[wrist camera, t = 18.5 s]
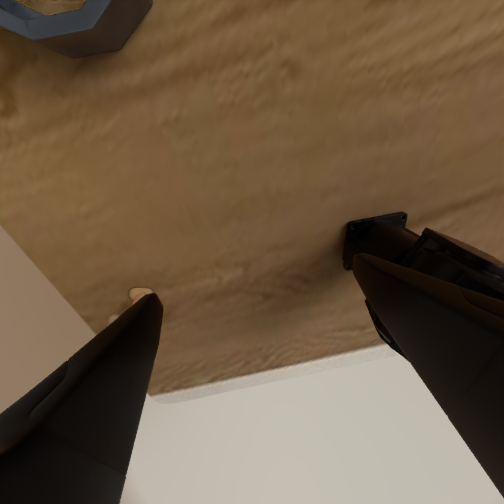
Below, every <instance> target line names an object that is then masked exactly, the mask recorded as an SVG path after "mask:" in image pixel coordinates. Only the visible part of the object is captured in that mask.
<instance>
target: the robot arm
mask: <svg viewBox="0 0 504 504" xmlns="http://www.w3.org/2000/svg"><path fill="white" fill-rule="evenodd" d="M401 216H402V217H401ZM406 220H407V214H406V213H404V212H398V213H393V214H388V215H382V216H377V217H372V218H366V219H361V220H356V221H351V222H349V223H348V224H347V228H346V240H345V241H344V248H343V260H344V263H343V268H344V269H345V270H347V271H349V270H352V271H353V274H354V276H355V278H356V280H357V282H358V284H359V286H360V287H361V289H362V291H363V293H364V295H365V297H366V300H365V303H366V306H367V308H368V311H369V313H370V316H371V318H372V321H373V323H374V326H375V328H376V330H377V332H378V334H379V336H380V338H381V339H382V340H384V341H385V342H386V343H387V344H388V345H389V346H390V347H391V348H392V349H393V350H395V351H396V352H398V353H399V354H400V355H402V356H403V357H404V358H405V359H407V360H408V361H409V362H410V363H411V365H412V366H413V367H414V369H415V370H416V372H417V373H418V375H419V376H420V378H421V379H422V380H423V382H424V383H425V385H426V386H427V388H428V389H429V390H430V392H431V393H432V395H433V396H434V398H435V399H436V401H437V402H438V404H439V405H440V406H441V408H442V409H443V411H444V412H445V414H446V415H447V416H448V418H449V420H450V421H451V423H452V424H453V425H454V427H455V428H456V430H457V431H458V433H459V434H460V435H461V437H462V438H463V440H464V441H465V443H466V444H467V446H468V447H469V449H470V450H471V452H472V453H473V454H474V456H475V457H476V459H477V460H478V462H479V463H480V464H481V466H482V467H483V469H484V470H485V472H486V473H487V475H488V476H489V477H490V479H491V480H492V482H493V483H494V485H495V486H496V488H497V489H498V490H499V492H500V493H501V495H502V496H503V498H504V263H503V262H501V261H500V260H498V259H496V258H495V257H493V256H491V255H489V254H487V253H485V252H483V251H481V250H479V249H477V248H475V247H472V246H470V245H468V244H466V243H464V242H462V241H459V240H457V239H454V238H452V237H449V236H446V235H444V234H441V233H439V232H436V231H434V230H431V229H429V228H425V229H424V230H423V232H422V235H421V236H419V235H417V234H415V233H414V232H412V231H410V230H408V229H407V228H405V224H406ZM352 225H353V227H351V226H352ZM347 266H348V267H347ZM162 318H163V305H162V303H161V301H160V300H159V298H158V296H157V294H156V293H149V294H145V295H144V296H143V297H141V298H140V299H139V300H138V301H137V302H136V303H134V304H133V305H132V306H131V307H130V308H128V309H127V310H126V311H125V312H124V313H123V314H121V315H120V316H119V317H118V318H117V319H115V320H114V321H113V322H112V323H111V324H110V325H108V326H107V327H106V328H105V329H104V330H102V331H101V332H100V333H99V334H98V335H96V336H95V337H94V338H93V339H92V340H91V341H89V342H88V343H87V344H86V345H85V346H83V347H82V348H81V349H80V350H79V351H78V352H77V353H75V354H74V355H73V356H72V357H70V358H69V360H68V361H66V362H64V363H63V364H62V365H61V366H60V367H59V368H57V369H56V370H55V371H54V372H53V373H51V374H50V375H49V376H48V377H46V378H45V379H44V380H43V381H42V382H40V383H39V384H38V385H37V386H36V387H34V388H33V389H32V390H30V391H29V392H28V393H27V394H25V395H24V396H23V397H21V398H20V399H19V400H18V401H16V402H15V403H14V404H13V405H11V406H10V407H9V408H7V409H6V410H5V411H3V412H2V413H1V414H0V504H119V503H120V499H121V495H122V491H123V487H124V483H125V479H126V474H127V470H128V466H129V462H130V458H131V454H132V450H133V445H134V442H135V438H136V434H137V430H138V425H139V422H140V418H141V414H142V409H143V406H144V401H145V398H146V393H147V389H148V385H149V381H150V377H151V373H152V369H153V365H154V361H155V357H156V353H157V349H158V345H159V340H160V333H161V325H162Z"/></svg>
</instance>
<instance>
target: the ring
mask: <svg viewBox="0 0 504 504" xmlns="http://www.w3.org/2000/svg"><path fill="white" fill-rule="evenodd" d="M152 2H153V0H86V2H85V3H84V5H83V6H82V8H81V9H80V10H75V11H70V12H65V13H60V14H55V15H50V16H45V15H43V14H40V13H38V12H36V11H34V10H32V9H30V8H27V7H25V6H23V5H21V4H19V3H17V2H16V1H15V0H0V27H1V28H3V29H5V30H8V31H10V32H12V33H15V34H17V35H19V36H21V37H24V38H26V39H28V40H31V41H33V42H35V43H38V44H40V45H42V46H45V47H47V48H49V49H52V50H54V51H56V52H59V53H61V54H63V55H66V56H68V57H70V58H78V57H84V56H89V55H94V54H99V53H104V52H109V51H114V50H120V49H121V48H122V47H123V45H124V44H125V42H126V41H127V40H128V38H129V37H130V35H131V34H132V33H133V31H134V30H135V29H136V27H137V26H138V24H139V23H140V22H141V20H142V19H143V17H144V16H145V15H146V13H147V12H148V10H149V9H150V8H151V6H152Z"/></svg>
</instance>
